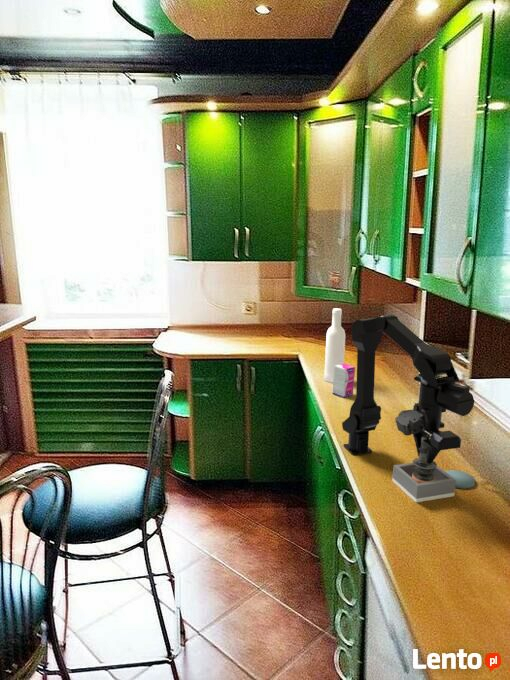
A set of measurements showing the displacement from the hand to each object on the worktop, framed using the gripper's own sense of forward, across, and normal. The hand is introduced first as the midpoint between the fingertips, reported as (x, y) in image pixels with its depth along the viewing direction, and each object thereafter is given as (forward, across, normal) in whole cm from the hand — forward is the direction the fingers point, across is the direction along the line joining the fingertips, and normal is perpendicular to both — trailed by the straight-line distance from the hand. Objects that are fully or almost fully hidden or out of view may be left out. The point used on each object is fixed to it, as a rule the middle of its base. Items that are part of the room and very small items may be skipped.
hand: (424, 459), depth 136 cm
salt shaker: (+5, 0, 0) cm, 5 cm away
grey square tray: (+8, 0, 0) cm, 8 cm away
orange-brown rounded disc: (+6, 0, 0) cm, 6 cm away
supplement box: (+9, -70, +12) cm, 71 cm away
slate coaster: (+8, -1, +12) cm, 14 cm away
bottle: (+9, -87, +16) cm, 89 cm away
